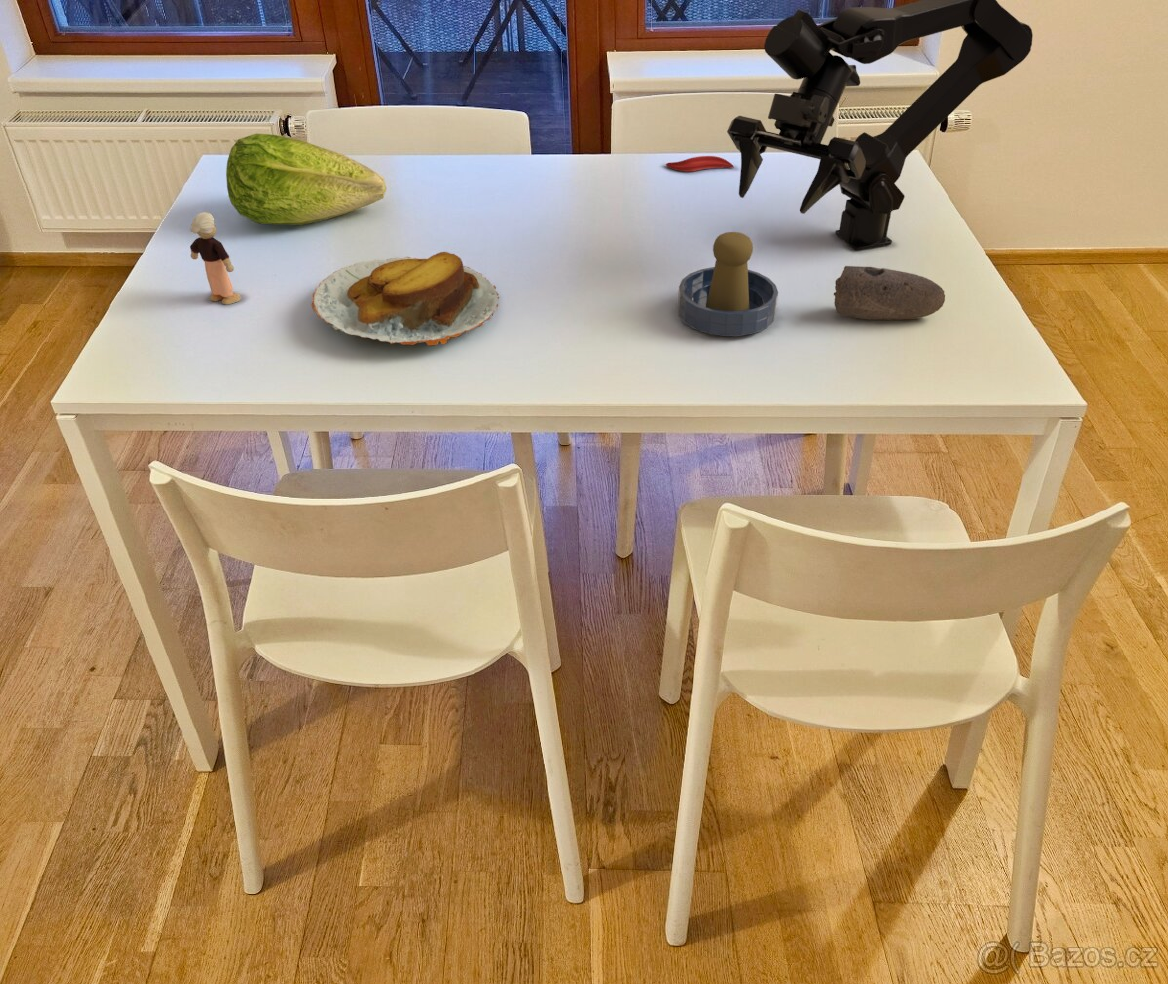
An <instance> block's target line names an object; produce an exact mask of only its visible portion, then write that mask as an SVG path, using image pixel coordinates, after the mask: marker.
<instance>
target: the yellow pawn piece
mask: <svg viewBox="0 0 1168 984" xmlns="http://www.w3.org/2000/svg"><path fill="white" fill-rule="evenodd" d="M753 251H754V246H753V241H752V240H751V238H750V237H749V236H748V235H746V234H744V233H742V232H738V231H728V232H723V233H720V234H719V235H718V236H717V237H716V238H715V240H714V242H713V245H712V252H713V257H714V258H715V263H714V267H715V268H714V272H713V277H712V281H711V286H710V290H709V294H708V299H707V303H706V308H710V309H713V310H720V311H727V312H730V311H746V310H749V290H748V270H749V269H748V268H749V267H748V265H749V263H748V262H749V260H750V259H751V257H752V255H753Z"/></svg>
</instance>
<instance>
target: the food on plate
mask: <svg viewBox="0 0 1168 984" xmlns="http://www.w3.org/2000/svg"><path fill="white" fill-rule="evenodd" d="M496 289H497V287H496V286H495V285H492V284H491V282H490V280H489V279H487V277H486V276H483V274H482V273H480V272H478V271H476V270H474V269H472V268H471V267H469V266H466V265H464V263H463V260H462V258H461V257H460V256H458V255H456V253H450V252H448V251H440V252H437V253H435V254H433V255H431V256H429V257H428V258H418V257H417V258H416V257H409V256H404V257H403V256H402V257H397V256H396V257H390V258H386V259H373V260H366V261H365V260H364V261H359V262H356V263H354V264H351V265H348V266H344V267H341V268H340V269H337V270H335V271H333V272H332V273H331V274H329V275H328V276H327V277H326V278H324V279H323V280H322V281H321V282H320V283H319V284H318V286H317V288H316V289H315V291H313V293H312V302H311V305H310V306H311V308H312V309H313V311H314V312H315V313H317V314H316V315H317V317H319V318H321V319H323V320H324V322H325V323H327V324H331V325H332V326H331V328H333V329H334V330H335V331H338V330H340V332H344V333H345V334H347V335H351V336H358V337H361V338H369V339H371V340H378V341H379V342H388V343H390V344H391V345H393V344H395V343H398V344H401V345H403V346H404V345H410V346H411V345H414V346H415V345H416V344H418V343H425V344H426V345H427V346H435V345H439V343H440V344H441V345H444V344H447V343H448V340H450V339H451V338H457V337H459V336H461V335H462V334H463V333H464V332H465V333H466V334H468V331H469V332H470V331H473V330H474V329H476V328H478V327H482V325H483V324H485V322H486V321H489V320H490V319H491V316H492V317H494V313H495V310H496V309H497V307H499V304H498V300H499V299H500V296H499V292H498V291H497V290H496Z"/></svg>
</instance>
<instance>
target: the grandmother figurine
mask: <svg viewBox="0 0 1168 984" xmlns="http://www.w3.org/2000/svg"><path fill="white" fill-rule="evenodd" d="M189 230H190V233H192V234H197V235H198V236H199V237H197V238H196V239H194V240H193V241H192V243H191V244H190V246H189V249H190V258H191V259H192V260H197V259H199V255H200V258H201V260H202V261H203V263H204V268H205V273H206V278H207V282H208V284H209V288H210V292H211V295H210V297H209V300H210V301H211V302H219V301H221V304H222V305H231V304H235V303H238V302H240V301H242V296H241V295H240V294H239V293H238V292H233V290H234V288H233V287H234V286H233V284H232V282H231V279H230V277H229V274H228V273H233V272H234V270H235V267H234V265H233V264H232V261H231V259H230V255H229V254H228V252H227V250H226V249H225V247H224V245H223V243H222V242H221V241H219V240H218V239H216V238H215V236H216V234H217V228H216V225H215V218H214V216H213V215H212V214H211V213H210V212H206V211H204V212H200V213H197V214H196V216H194V217H193V219H192V222H191V227H190V229H189Z"/></svg>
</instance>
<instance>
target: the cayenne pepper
mask: <svg viewBox="0 0 1168 984" xmlns="http://www.w3.org/2000/svg"><path fill="white" fill-rule="evenodd" d="M665 166H666V167H667V168H669V169H672V170H676V171H679V172H695V171H700V170H706V169H708V170H709V169H717V168H718V169H719V168H721V169H722V168H731V169H733V168H735V166H734V165H733V163H731V162H730V161H728V160H727V159H725V158H723V157H720V156H715V155H701V156H694V157H690V158H686V159H684V160H679V161H674V162H673V161H672V162H667V163H665Z"/></svg>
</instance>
